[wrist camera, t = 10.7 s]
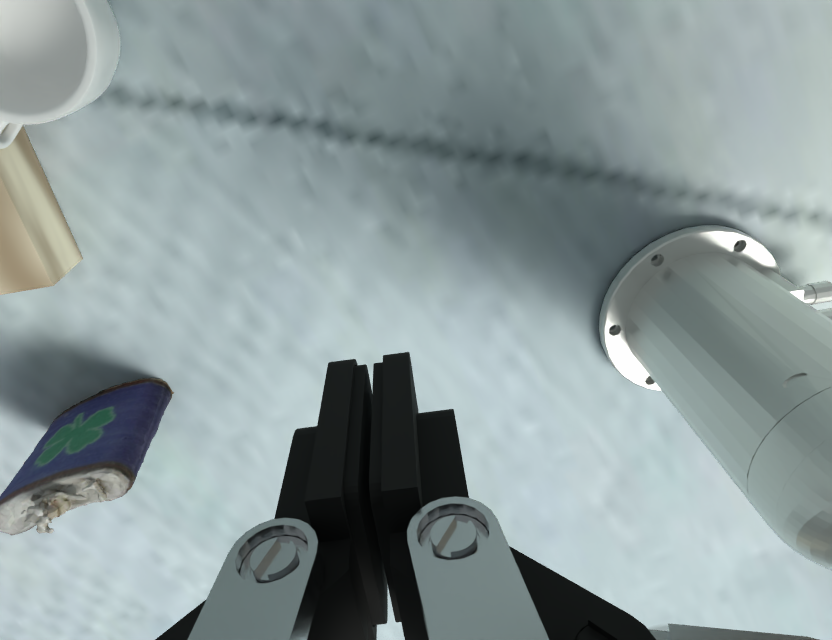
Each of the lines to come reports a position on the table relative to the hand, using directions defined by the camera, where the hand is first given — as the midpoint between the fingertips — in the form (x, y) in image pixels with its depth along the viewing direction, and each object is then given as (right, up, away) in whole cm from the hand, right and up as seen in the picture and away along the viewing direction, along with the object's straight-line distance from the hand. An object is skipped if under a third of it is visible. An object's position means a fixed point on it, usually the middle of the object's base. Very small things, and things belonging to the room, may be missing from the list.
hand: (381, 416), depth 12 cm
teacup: (-18, +16, +19) cm, 31 cm away
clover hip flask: (-21, -4, +30) cm, 36 cm away
